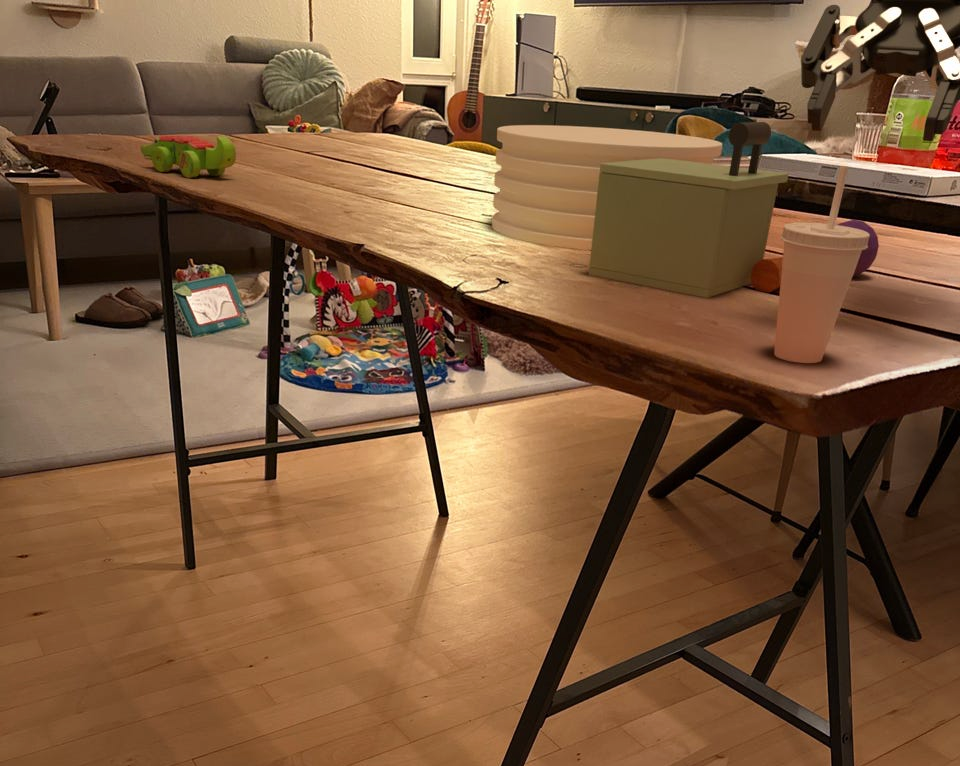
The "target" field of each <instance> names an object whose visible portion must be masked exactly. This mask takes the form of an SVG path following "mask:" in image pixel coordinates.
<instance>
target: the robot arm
mask: <svg viewBox="0 0 960 766" xmlns="http://www.w3.org/2000/svg"><path fill="white" fill-rule="evenodd" d="M848 37H850V38H848ZM846 38H848V39H847V40H846V41H845V39H846ZM844 41H845V43H844V44H843V46H842V48H841V49H840V50H839V51H837V52H836V53H835V54H833V55H832V56H831V54H832V52H833V50H834V49H835V50H837V49H839V48H840V47H841V46H840V45H841V44H842V43H843V42H844ZM959 48H960V0H870V2H869V4H868V5H867V7H866V8H865V9H864V10H862V11H861V13H859V14H858V16H857V15H848V14H847V15H845V14H841V7H840V5H838V4H831V5H829V6H827V7H826V8H825V9H824V10H823V13H822V14H821V17H820V19H819V20H818V23H817V25H816V27H815V29H814V31H813V33H812V35H811V37H810V39H809V41H808V43H807V45H806V48H804V51H803V53H802V55H801V57H800V67H801V68H800V74H801V75H800V77H801V78H800V79H801V86H802V88H804V89H811V88H813V90H812V92H811V93H810V96H809V99H808V101H807V103H806V105H807V106H806V107H807V108H806V109H807V111H806V112H807V124H811V132H813V131H814V132H822V131H823V129H824V126H825V123H826V121H827V119H828V116H829V115H830V111H831V108H832V106H833V104H834V101H835V99H836V93H837V92H838V91H840V90H842V89H843V88H844V87H846V86H847V85H848V84H850V83H851V84H853V85H855V84H857V83H859V82H860V81H861V80H863V79H864V78H866V77H867V76H869V75H871V74H872V73H874V72H875V74H874V75H890V74H891V75H892V74H899V75H902V76H906V77H917V75H918V74H920V73H923V75H924V76H925V79H926V80H927V82H928V84H929V85H930V88H931V89H932V90H936V92H935V95H934V97H933V100H932V103H931V105H930V108H929V111H928V114H927V116H926V119H925V122H924V128H923V134H922V135H923V136H922V141H924V142H934V140H935V137H936V135H940V136H941V135H943V134H944V133H945V132H946V131H947V130H948V127H949V124H950V121H951V119H952V116H953V113H954V111H955V108H956V106H957V104H958V103H959V102H960V61H959V59H958V57H957V56H956V50H957V49H959ZM862 56H863V59H862Z"/></svg>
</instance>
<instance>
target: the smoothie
mask: <svg viewBox="0 0 960 766" xmlns="http://www.w3.org/2000/svg"><path fill="white" fill-rule="evenodd" d="M848 172H849V166H847V165H840V168H839V172H838V176H837V181H836V185H835V189H834V194H833V199H832V203H831V206H830V207H831V208H830V212H829V216H828V221H827V223H820V222H791V223H786V224H785V225H784V226H783V228H782V235H781V236H780V240H781V241H782V242H783V252H782V253H783V254H782V257H783V261H782V273H781V284H780V287H779V297H778V298H779V299H778V307H777V317H776V318H777V319H776V331H775V340H774V351H773V355H774V356H775V357H776V358H778V359H781V360H784V361H788V362H793V363H800V364H816V363H819V362H821V361H822V360H823V357H824V354H825V352H826V349H827V347H828V344H829V341H830V339H831V336H832V332H833V331H834V327H835V325H836V322H837V319H838V317H839V314H840V311H841V309H842V306H843V303H844V301H845V297H846V295H847V293H848V290H849V287H850V284H851V282H852V279H853V277H854V276H853V274H854V271H855V269H856V266H857V263H858V260H859V257H860V254H861V252H862V250H865V249H866V248H868V246H867V244H868V240H869V236H870V235H869V233H867V232H866V231H863V230H860V229H856V228H851V227H845V226H839V225H838V224H837V220H838V219H837V218H838V215H839V211H840V206H841V201H842V198H843V192H844V189H845V184H846V179H847V176H848ZM852 276H853V277H852Z"/></svg>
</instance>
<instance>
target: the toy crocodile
mask: <svg viewBox="0 0 960 766" xmlns="http://www.w3.org/2000/svg"><path fill="white" fill-rule="evenodd" d="M153 141H154V142H152V143H150V144H148V145H146V144H145V145H144V144H143V145H141V147H140V151H141V154H142V155H143V158H144V159H145V160H148V161H151V162H152V165H153V167H154V168H155V169H156V171H158V172H160V173H166V172H168V173H169V172H170V171H171V170H173V166H174V165H176V166H178V167H179V171H180V172H181V174H182V175H183V176H184V177H185V178H187V179H193V178H197V177H198V176H199V175H200V173H201V171H207V173H208V174H209V175H210V176H212V177H221V176H223V175H224V174H225V172H226V168H231V167H232V166H234V164H235V162H236V160H237V153H236V152H237V151H236V148H235V145H234V143H233V141H232V140H231V139H230V138H229V137H227V136H226V135H223V136H222V135H221V136H220V135H219V136H216V143H217V144H216V146H214V145H213V144H212V143H210V142H208V141H207V140H201V139H200V138H199V137H194V136H180V135H177V136H176V135H161V136H160V137H156V138H154V139H153Z"/></svg>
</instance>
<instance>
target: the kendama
mask: <svg viewBox="0 0 960 766" xmlns="http://www.w3.org/2000/svg"><path fill="white" fill-rule="evenodd" d="M837 225H839V226H845V227H851V228H856V229H860V230H863V231H866V232H867V233H869V235H870V236H869V240H868V244H867V246H868V248H866V249H865V250H862V252H861V254H860V257H859V260H858V263H857V266H856V269H855V271H854V274H853V276H852V278H853V277H855V276H859V275H862V274H863V273H865V272H866V271H867V270H868V269H870V268H871V266H872V264H873V263H874V262H875V260H876V258H877V255H878V251H879V247H880V244H879V243H880V242H879V237H878V235H877V233H876V231H875V228H873V227H872V226H870V225H869V224H868V223H866V222H865V221H864V220H858V219H851V220H847V221H843V222H840V223H838V224H837ZM782 261H783V256H781V257H773V258H772V257H771V258H764V259H763V260H760V261H758V262H757V263H756V264H755V265H754V267H753V269H752V272H751V281H752V284H751V285H752V286H753V288H754V289H755V290H756V291H758V292H762V293H767V294H768V293H772V292H774V291H775V290H777V289H780V284H781V273H782Z"/></svg>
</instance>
